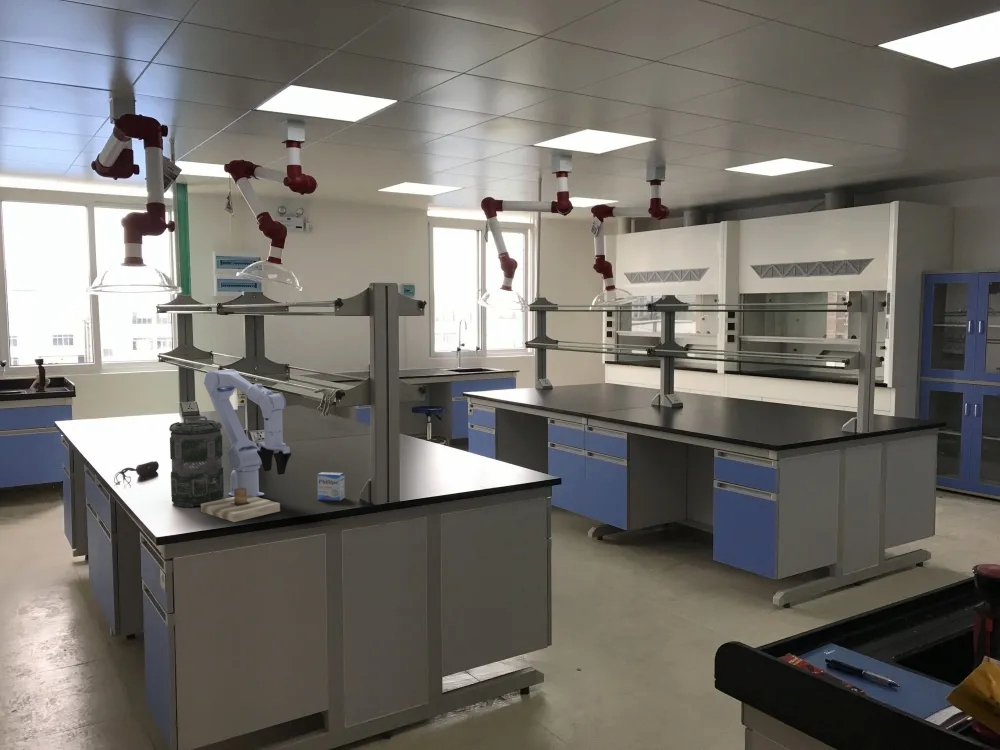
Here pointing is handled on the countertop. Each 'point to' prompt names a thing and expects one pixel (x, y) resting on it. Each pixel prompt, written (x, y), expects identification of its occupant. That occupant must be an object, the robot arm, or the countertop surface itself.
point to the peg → (240, 496)
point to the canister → (196, 462)
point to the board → (240, 508)
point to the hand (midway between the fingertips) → (274, 472)
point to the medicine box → (331, 486)
